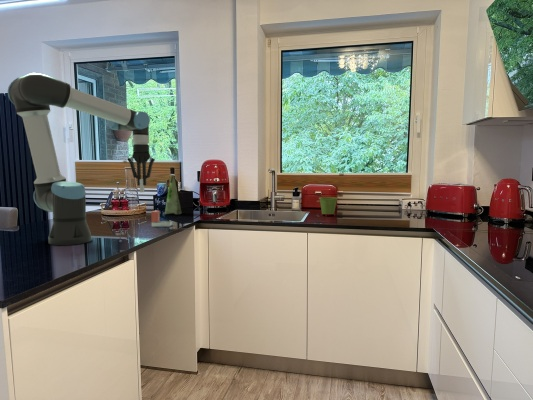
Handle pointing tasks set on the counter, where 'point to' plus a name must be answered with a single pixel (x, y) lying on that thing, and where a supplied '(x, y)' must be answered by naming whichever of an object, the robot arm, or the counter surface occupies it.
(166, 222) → the console
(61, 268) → the counter surface
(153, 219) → the block
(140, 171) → the robot arm
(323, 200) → the plant pot
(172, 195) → the pouch
